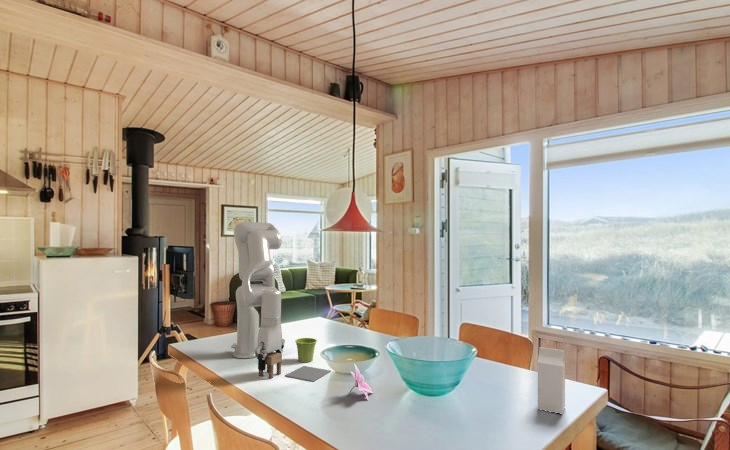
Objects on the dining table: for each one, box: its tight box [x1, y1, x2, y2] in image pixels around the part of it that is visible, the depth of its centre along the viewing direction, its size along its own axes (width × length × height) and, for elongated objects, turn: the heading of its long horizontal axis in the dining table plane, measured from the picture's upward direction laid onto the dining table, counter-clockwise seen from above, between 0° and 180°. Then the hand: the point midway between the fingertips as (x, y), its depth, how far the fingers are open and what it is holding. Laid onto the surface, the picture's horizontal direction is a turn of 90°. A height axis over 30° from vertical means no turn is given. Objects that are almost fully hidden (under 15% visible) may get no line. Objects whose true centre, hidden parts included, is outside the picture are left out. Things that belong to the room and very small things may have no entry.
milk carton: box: [537, 346, 566, 415], centre depth 129 cm, size 7×7×19 cm
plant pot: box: [294, 337, 318, 363], centre depth 175 cm, size 9×9×9 cm
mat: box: [284, 365, 332, 383], centre depth 158 cm, size 13×13×1 cm
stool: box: [258, 351, 282, 380], centre depth 156 cm, size 6×6×8 cm
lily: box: [347, 362, 374, 400], centre depth 137 cm, size 12×12×10 cm
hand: (270, 366), depth 156 cm, fingers open, 9 cm apart
